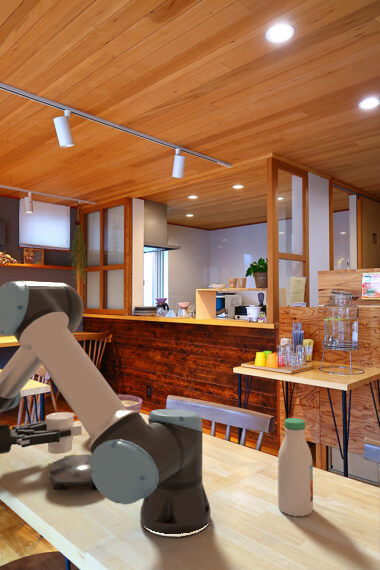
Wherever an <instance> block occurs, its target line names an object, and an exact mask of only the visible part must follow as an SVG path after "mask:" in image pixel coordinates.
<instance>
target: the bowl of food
mask: <svg viewBox="0 0 380 570" xmlns="http://www.w3.org/2000/svg"><path fill="white" fill-rule="evenodd" d="M116 395H117V397H118V398H119V399H120V401H121V402H122V404H123V405H124V406H125V408H126V409H127V410H132V411H138V412H139V414H141V413H140V412H141V408H142V404H143V399H142V398H141V397H138V396H134V395H128V394H116Z"/></svg>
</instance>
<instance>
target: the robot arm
mask: <svg viewBox="0 0 380 570" xmlns="http://www.w3.org/2000/svg"><path fill="white" fill-rule="evenodd" d="M83 315H84V302H83V300H82V296H80V294H79V292H78V291H77V290H76V289H75V288H73V287H72V286H71V285H68V284H66V283H64V282H46V281H45V282H43V281H26V280H19V281H8V282H6V283H4V284H2V285H1V286H0V334H1V335H3V336H6V337H7V336H9V337H10V336H14V338H15V339H16V341H17V342H18V344H19V345H20V346H19V347H18V349H17V350H16V351H15V353H14V354H13V355H12V357H11V358H10V359H9V361H8V362H7V363H6V364H5V365H4V367H3V368H2V370H1V371H0V412H1V413H2V412H7V411H8V410H11V409H14V408H16V407H17V406H18V405H19V403H20V399H21V398H22V397H21V395H22V394H21V391H22V389H23V388H24V387H25V385H27V383H28V382H29V381H30V380H31V379H32V377H33V376H34V375H35V374H36V373H37V371H38V370H39V369H40V368H41V367H42V366H43V368H44V370H45V371H46V373H48V375H49V376H50V378H51V380H52V381H53V383H54V385H55V386H56V387H57V389H58V391H59V392H60V393H61V394H62V397H63V398H64V399H65V401H66V402H67V404H68V405H69V407H70V408H71V410H72V412H73V414H74V415H75V416H76V417H77V419H78V420H79V422H80V423H81V424H78V425H74V426H70V427H65V428H59V429H58V430H49V431H47V429H46V420H42V421H37V422H36V421H35V422H31V423H26V424H21V425H13V426H12V427H10V425H9V424H7V423H5V424H0V455H2V454H7V453H10V451H11V448H12V446H13V445H14V446H15V445H17V446H20V447H21V448H26V447H30V446H37V445H38V446H39V445H44V444H48V443H53V442H57V443H58V442H60V439H61V438H66V437H72V436H73V437H76V436H82V432H83V430H82V428H84V430H85V431H86V432H87V434H88V436H89V437H90V440H89V446H88V451H89V452H90V453H91V455H92V457H91V461H90V468H91V469H92V472H91V476H92V479H93V482H94V484H95V486H96V487H97V489H98V490H97V491H98V492H99V493H100V494H101V495H102V496H103V497H105V498H106V499H107V500H109V501H110V502H113V503H115V504H121V505H131V504H134V503H137V502H139V501H140V500H143V501H142V505H141V507H140V513H139V514H140V519H139V521H140V522H139V523H140V525H141V527H143V526H145V527H146V528H148V529H150V530H152V531H155V532H159V533H164V534H181V533H182V534H183V533H190V532H193V531H196V530H199V529H201V528H203V527H204V526H206V525H207V524H208V523H209V521H210V522H211V506H210V503H209V499H208V495H207V493H206V489H205V488H204V484H203V433H204V429H203V420H202V417H201V416H200V414H198V413H197V412H193V411H189V410H182V409H172V408H171V409H167V408H165V409H164V408H162V409H161V408H160V409H154V410H151V411H150V412H149V414H148V418H147V421H148V423H147V421H145V419H144V417H143V416H142V415H141V413H139V412H138V411H132V410H127V409H126V408H125V406H124V405H123V404H122V402H121V401H120V399H119V398H118V397H117V395H118V394H116V392H115V390H113V388H112V387H111V385H110V384H109V383H108V382H107V380H106V379H105V377H104V376H103V375H102V373H101V371H99V369H98V368H97V366H96V365H95V364H94V362H93V361H92V359H91V358H90V357H89V355H88V353H86V351H85V350H84V349H83V347H82V346H81V344H80V343H79V342H78V340H77V339H76V338H75V336H74V333H75V332H76V331H77V329H78V327H79V326H80V324H81V322H82V319H83ZM82 426H83V427H82ZM54 436H55V437H54ZM209 524H210V523H209Z"/></svg>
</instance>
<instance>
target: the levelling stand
mask: <svg viewBox="0 0 380 570" xmlns="http://www.w3.org/2000/svg"><path fill="white" fill-rule="evenodd" d="M91 457H92V454H87V453H86V454H76V453H74V454H69V455H65V456H63V458H59V459H57V460H56V461H54V462H52V463H51V464H50V465H49V467H48V475H47V476H48V478H49V480H50V481H49V482H50V485H52V491H54V492H62V491H65V490H66V489H67V486H68V485H70V486H72V485H73V486H74V485H78V486H79V485H85V484H90V485H91V490H93V491H99V490H98V489H97V487H96V486H95V484H94V482H93V479H92V476H91V472H92V469H91V468H90V461H91Z"/></svg>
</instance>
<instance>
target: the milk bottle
mask: <svg viewBox="0 0 380 570" xmlns="http://www.w3.org/2000/svg"><path fill="white" fill-rule="evenodd" d="M283 422H284V423H283V424H284V430H285V435H284V439H283V441H282V443H281V445H280V447H279V451H278V455H277V506H278V509H279V510H280V512H282V513H283V512H284V513H283V514H285V513H286V514H285V515H287V514H290V515H295V516H294V517H296V516H303V517H306V516H305V515H307V516H309V515H311V514H312V513H313V510H314V477H313V475H314V472H313V471H314V467H313V466H314V465H313V457H312V452H311V448H310V446H309V444H308V442H307V440H306V436H305V431H306V421H305V420H304V419H302V418H298V417H297V418H296V417H288V418H286V419H285V420H284V421H283ZM310 513H311V514H310ZM308 514H309V515H308ZM290 515H289V516H290Z"/></svg>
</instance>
